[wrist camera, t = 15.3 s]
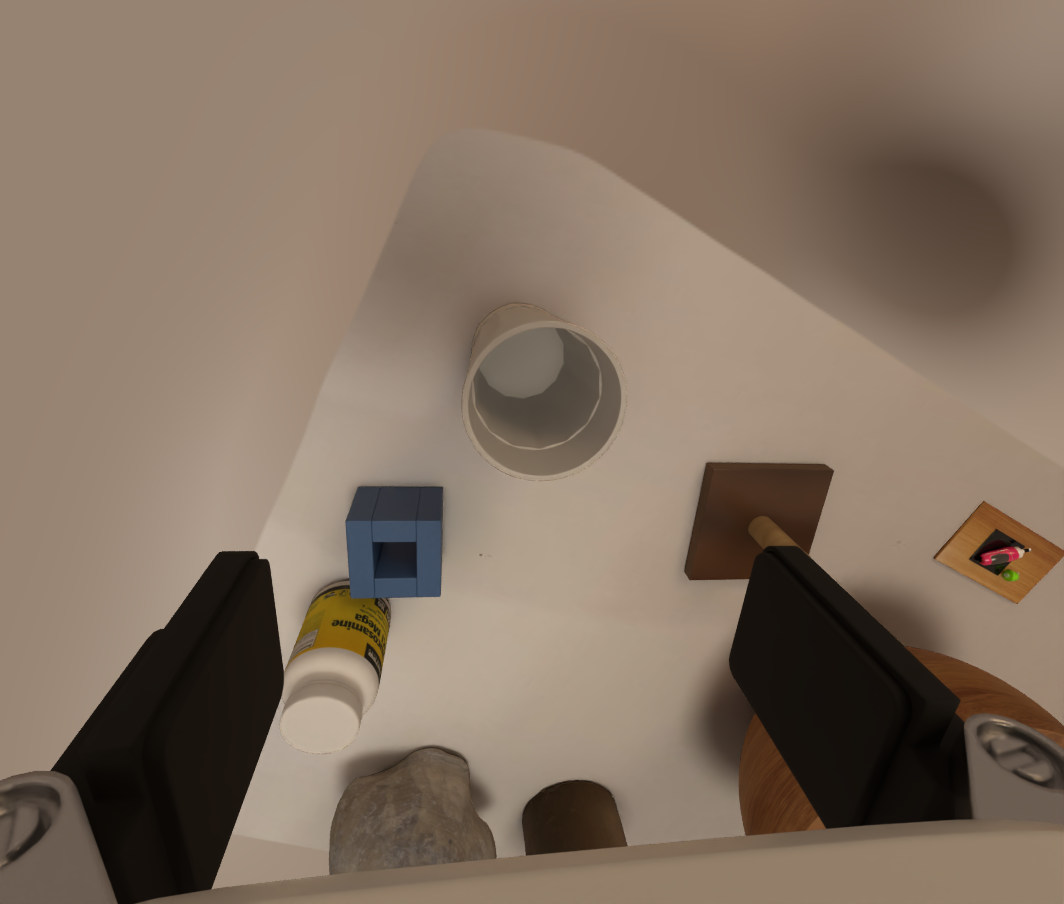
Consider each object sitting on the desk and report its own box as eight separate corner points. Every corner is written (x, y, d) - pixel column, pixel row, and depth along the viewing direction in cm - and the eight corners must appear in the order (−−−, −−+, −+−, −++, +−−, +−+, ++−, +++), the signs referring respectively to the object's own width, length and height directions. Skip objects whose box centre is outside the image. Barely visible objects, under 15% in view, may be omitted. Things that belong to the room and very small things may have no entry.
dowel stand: (706, 462, 43) (748, 502, 36) (825, 464, 44) (884, 502, 38) (683, 572, 46) (718, 624, 40) (794, 570, 48) (843, 620, 42)
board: (1015, 602, 53) (1030, 612, 51) (933, 557, 49) (947, 567, 48) (1064, 551, 51) (1081, 560, 50) (983, 501, 47) (999, 509, 46)
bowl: (921, 540, 48) (1107, 668, 34) (948, 720, 58) (1101, 875, 45) (658, 654, 49) (736, 822, 36) (729, 812, 59) (812, 990, 46)
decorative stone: (516, 762, 52) (537, 954, 39) (473, 833, 55) (479, 1034, 42) (360, 728, 48) (322, 930, 35) (323, 806, 51) (275, 1020, 38)
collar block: (357, 486, 40) (345, 521, 35) (442, 486, 40) (441, 520, 36) (361, 557, 42) (350, 599, 37) (442, 556, 43) (440, 597, 38)
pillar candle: (534, 777, 54) (561, 969, 40) (628, 782, 56) (684, 966, 42) (512, 844, 57) (530, 1042, 43) (601, 846, 59) (645, 1036, 45)
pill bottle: (408, 608, 44) (394, 723, 34) (354, 653, 45) (325, 778, 35) (347, 562, 42) (313, 671, 32) (292, 611, 43) (243, 732, 33)
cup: (572, 408, 39) (617, 480, 28) (459, 407, 38) (461, 482, 27) (581, 292, 36) (637, 323, 25) (459, 287, 35) (461, 318, 24)
